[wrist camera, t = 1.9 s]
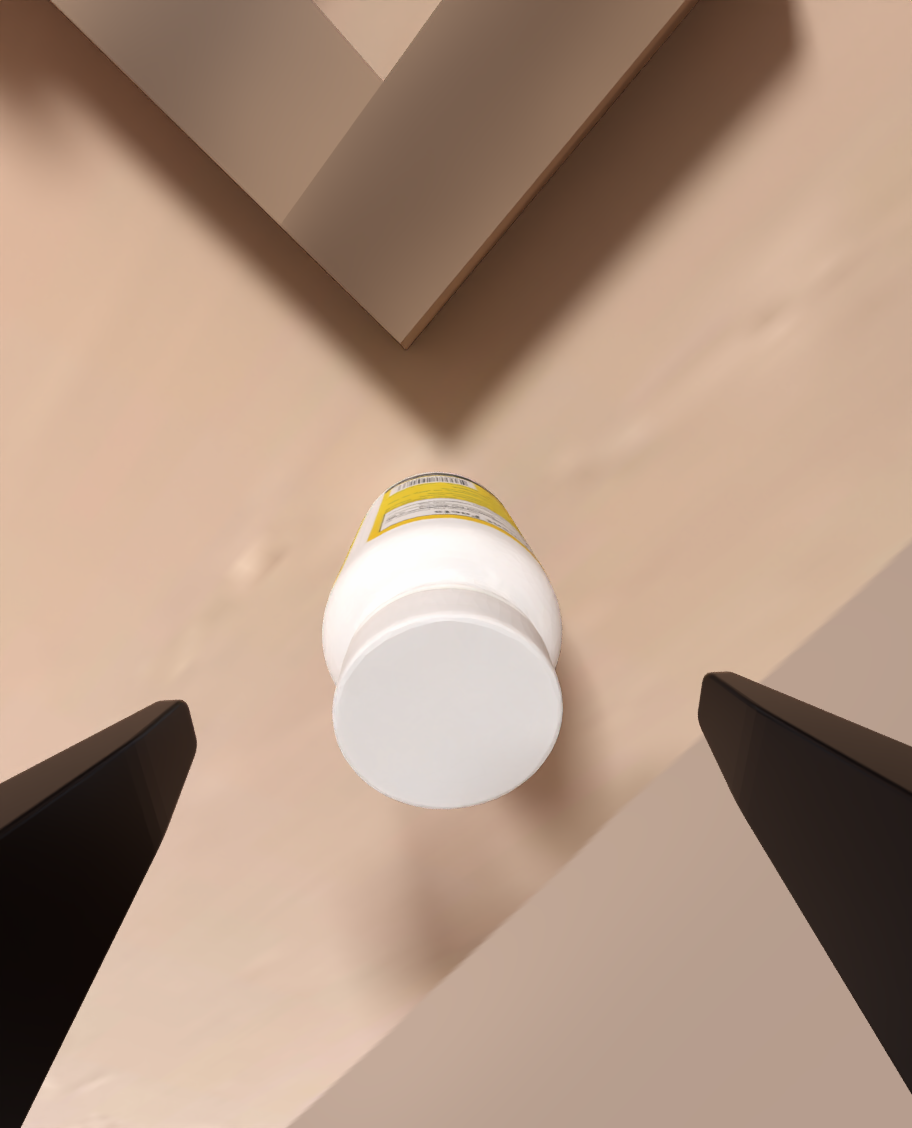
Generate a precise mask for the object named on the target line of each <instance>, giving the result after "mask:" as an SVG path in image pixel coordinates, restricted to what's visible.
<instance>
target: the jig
mask: <svg viewBox="0 0 912 1128" xmlns="http://www.w3.org/2000/svg"><path fill="white" fill-rule="evenodd" d="M50 1H51V2H52V3H53V4H54V5H55V6H56V7H57V8H58V9H59V10H60V11H61V12H62V13H63V14H64V15H65V16H66V17H67V18H68V19H69V20H70V21H71V22H72V23H73V24H74V25H75V26H76V27H77V28H78V29H79V30H80V31H81V32H82V33H83V34H84V35H85V36H86V37H87V38H88V39H89V40H90V41H91V42H92V43H93V44H94V45H95V46H96V47H97V48H98V49H100V50H101V51H102V52H103V53H104V54H105V55H106V56H107V57H108V58H109V59H110V60H111V61H112V62H113V63H114V64H115V65H116V66H117V67H118V68H119V69H120V70H121V71H122V72H123V73H124V74H125V75H126V76H127V77H128V78H129V79H130V80H131V81H132V82H133V83H134V84H135V85H136V86H137V87H138V88H139V89H140V90H141V91H142V92H143V93H144V94H145V95H146V96H147V97H148V98H149V99H151V100H152V101H153V102H154V103H155V104H156V105H157V106H158V107H159V108H160V109H161V110H162V111H163V112H164V113H165V114H166V115H167V116H168V117H169V118H170V119H171V120H172V121H173V122H174V123H175V124H176V125H177V126H178V127H179V128H180V129H181V130H182V131H183V132H184V133H185V134H186V135H187V136H188V137H189V138H190V139H191V140H192V141H193V142H194V143H195V144H196V145H197V146H198V147H199V148H200V149H201V150H203V151H204V152H205V153H206V154H207V155H208V156H209V157H210V158H211V159H212V160H213V161H214V162H215V163H216V164H217V165H218V166H219V167H220V168H221V169H222V170H223V171H224V172H225V173H226V174H227V175H228V176H229V177H230V178H231V179H232V180H233V181H234V182H235V183H236V184H237V185H238V186H239V187H240V188H241V189H242V190H243V191H244V192H245V193H246V194H247V195H248V196H249V197H250V198H251V199H252V200H254V201H255V202H256V203H257V204H258V205H259V206H260V207H261V208H262V209H263V210H264V211H265V212H266V213H267V214H268V215H269V216H270V217H271V218H272V219H273V220H274V221H275V222H276V223H277V224H278V225H279V226H280V227H281V228H282V229H283V230H284V231H285V232H286V233H287V234H288V235H289V236H290V237H291V238H292V239H293V240H294V241H295V242H296V243H297V244H298V245H299V246H300V247H301V248H302V249H303V250H305V251H306V252H307V253H308V254H309V255H310V256H311V257H312V258H313V259H314V260H315V261H316V262H317V263H318V264H319V265H320V266H321V267H322V268H323V269H324V270H325V271H326V272H327V273H328V274H329V275H330V276H331V277H332V278H333V279H334V280H335V281H336V282H337V283H338V284H339V285H340V286H341V287H342V288H343V289H344V290H345V291H346V292H347V293H348V294H349V295H350V296H351V297H352V298H353V299H354V300H355V301H357V302H358V303H359V304H360V305H361V306H362V307H363V308H364V309H365V310H366V311H367V312H368V313H369V314H370V315H371V316H372V317H373V318H374V319H375V320H376V321H377V322H378V323H379V324H380V325H381V326H382V327H383V328H384V329H385V330H386V331H387V332H388V333H389V334H390V335H391V336H392V337H393V338H394V339H395V340H396V341H397V342H398V343H399V344H400V345H401V346H402V347H403V348H404V349H405V350H407V349H408V348H409V347H410V345H411V344H412V343H413V342H414V341H415V339H416V338H417V337H418V336H419V335H420V333H421V332H422V331H423V330H424V329H425V327H426V326H427V325H428V324H429V323H430V321H431V320H432V319H433V318H434V317H435V316H436V314H437V313H438V312H439V311H440V310H441V308H442V307H443V306H444V305H445V304H446V302H447V301H448V300H449V299H450V298H451V296H452V295H453V294H454V293H455V292H456V290H457V289H458V288H459V287H460V286H461V284H462V283H463V282H464V281H465V280H466V278H467V277H468V276H469V275H470V274H471V272H472V271H473V270H474V269H475V268H476V267H477V265H478V264H479V263H480V262H481V261H482V259H483V258H484V257H485V256H486V255H487V253H488V252H489V251H490V250H491V249H492V247H493V246H494V245H495V244H496V243H497V241H498V240H499V239H500V238H501V237H502V235H503V234H504V233H505V232H506V231H507V229H508V228H509V227H510V226H511V225H512V223H513V222H514V221H515V220H516V219H517V218H518V216H519V215H520V214H521V213H522V212H523V210H524V209H525V208H526V207H527V206H528V204H529V203H530V202H531V201H532V200H533V198H534V197H535V196H536V195H537V194H538V192H539V191H540V190H541V189H542V188H543V186H544V185H545V184H546V183H547V182H548V180H549V179H550V178H551V177H552V176H553V175H554V173H555V172H556V171H557V170H558V169H559V167H560V166H561V165H562V164H563V163H564V161H565V160H566V159H567V158H568V157H569V155H570V154H571V153H572V152H573V151H574V149H575V148H576V147H577V146H578V145H579V143H580V142H581V141H582V140H583V139H584V137H585V136H586V135H587V134H588V133H589V131H590V130H591V129H592V128H593V127H594V126H595V124H596V123H597V122H598V121H599V120H600V118H601V117H602V116H603V115H604V114H605V112H606V111H607V110H608V109H609V108H610V106H611V105H612V104H613V103H614V102H615V100H616V99H617V98H618V97H619V96H620V94H621V93H622V92H623V91H624V90H625V88H626V87H627V86H628V85H629V84H630V82H631V81H632V80H633V79H634V78H635V77H636V75H637V74H638V73H639V72H640V71H641V69H642V68H643V67H644V66H645V65H646V63H647V62H648V61H649V60H650V59H651V57H652V56H653V55H654V54H655V53H656V51H657V50H658V49H659V48H660V47H661V45H662V44H663V43H664V42H665V41H666V39H667V38H668V37H669V36H670V35H671V34H672V32H673V31H674V30H675V29H676V28H677V26H678V25H679V24H680V23H681V22H682V20H683V19H684V18H685V17H686V16H687V14H688V13H689V12H690V11H691V10H692V8H693V7H694V6H695V5H696V4H697V2H698V1H699V0H442V1H441V2H440V4H439V5H438V6H437V8H436V9H435V11H434V12H433V13H432V15H431V16H430V17H429V19H428V20H427V22H426V23H425V24H424V26H423V27H422V29H421V30H420V31H419V33H418V34H417V36H416V37H415V38H414V40H413V41H412V42H411V44H410V45H409V47H408V48H407V49H406V51H405V52H404V54H403V55H402V56H401V58H400V59H399V61H398V62H397V63H396V65H395V66H394V67H393V69H392V70H391V72H390V73H389V74H388V76H387V77H386V79H385V80H384V81H382V80H381V78H380V77H379V76H378V75H377V74H376V73H375V72H374V70H373V69H372V68H371V67H370V66H369V65H368V64H367V62H366V61H365V60H364V59H363V58H362V57H361V56H360V54H359V53H358V52H357V51H356V50H355V49H354V48H353V46H352V45H351V44H350V43H349V42H348V41H347V40H346V38H345V37H344V36H343V35H342V34H341V33H340V32H339V30H338V29H337V28H336V27H335V26H334V25H333V24H332V22H331V21H330V20H329V19H328V18H327V17H326V16H325V14H324V13H323V12H322V11H321V10H320V9H319V8H318V6H317V5H316V4H315V3H314V2H313V1H312V0H50Z"/></svg>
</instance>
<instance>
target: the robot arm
mask: <svg viewBox="0 0 912 1128" xmlns="http://www.w3.org/2000/svg"><path fill="white" fill-rule="evenodd" d="M698 720H699V724H700V727H701V729H702V732H703V734H704V736H705V738H706V740H707V742H708V744H709V746H710V748H711V751H712V753H713V755H714V757H715V759H716V761H717V763H718V765H719V767H720V769H721V772H722V774H723V776H724V778H725V780H726V782H727V784H728V787H729V789H730V791H731V793H732V795H733V797H734V799H735V801H736V803H737V804H738V806H739V808H740V810H741V812H742V813H743V815H744V817H745V819H746V820H747V822H748V824H749V825H750V827H751V829H752V830H753V832H754V834H755V835H756V837H757V838H758V840H759V842H760V844H761V845H762V847H763V848H764V850H765V852H766V853H767V855H768V857H769V858H770V860H771V862H772V863H773V865H774V867H775V868H776V870H777V872H778V873H779V875H780V877H781V878H782V880H783V882H784V883H785V885H786V887H787V888H788V890H789V892H790V893H791V895H792V897H793V898H794V900H795V901H796V903H797V905H798V906H799V908H800V910H801V911H802V913H803V915H804V916H805V918H806V920H807V921H808V923H809V925H810V926H811V928H812V930H813V931H814V933H815V935H816V936H817V938H818V940H819V941H820V943H821V945H822V946H823V948H824V950H825V951H826V953H827V955H828V956H829V958H830V960H831V961H832V963H833V965H834V966H835V968H836V970H837V971H838V973H839V974H840V976H841V978H842V980H843V981H844V983H845V984H846V986H847V988H848V989H849V991H850V993H851V994H852V996H853V998H854V999H855V1001H856V1003H857V1004H858V1006H859V1008H860V1009H861V1011H862V1013H863V1014H864V1016H865V1018H866V1019H867V1021H868V1023H869V1024H870V1026H871V1027H872V1029H873V1031H874V1032H875V1034H876V1036H877V1037H878V1039H879V1041H880V1043H881V1044H882V1046H883V1047H884V1049H885V1051H886V1052H887V1054H888V1056H889V1057H890V1059H891V1061H892V1062H893V1064H894V1066H895V1067H896V1069H897V1071H898V1072H899V1074H900V1075H901V1077H902V1079H903V1081H904V1082H905V1084H906V1086H907V1087H908V1089H909V1090H910V1092H911V1094H912V747H911V746H908V745H906V744H904V743H902V742H899V741H897V740H894V739H892V738H889V737H887V736H885V735H882V734H880V733H877V732H875V731H872V730H870V729H868V728H865V727H863V726H860V725H858V724H856V723H853V722H851V721H848V720H846V719H844V718H841V717H839V716H836V715H834V714H832V713H829V712H827V711H824V710H822V709H819V708H817V707H815V706H812V705H810V704H807V703H805V702H802V701H800V700H798V699H795V698H793V697H791V696H788V695H786V694H783V693H781V692H778V691H776V690H774V689H771V688H769V687H766V686H764V685H762V684H759V683H757V682H754V681H752V680H750V679H747V678H745V677H742V676H740V675H737V674H735V673H732V672H711V673H707V674H706V675H705V676H704V678H703V681H702V688H701V694H700V701H699V708H698ZM196 748H197V740H196V735H195V731H194V727H193V723H192V719H191V715H190V711H189V707H188V705H187V703H186V702H184V701H183V700H164V701H158V702H156V703H154V704H152V705H150V706H148V707H146V708H144V709H142V710H140V711H138V712H136V713H135V714H133V715H131V716H129V717H127V718H125V719H123V720H121V721H119V722H117V723H115V724H113V725H112V726H110V727H108V728H106V729H104V730H102V731H100V732H98V733H96V734H94V735H92V736H91V737H89V738H87V739H85V740H83V741H81V742H79V743H77V744H75V745H73V746H71V747H69V748H68V749H66V750H64V751H62V752H60V753H58V754H56V755H54V756H52V757H50V758H48V759H47V760H45V761H43V762H41V763H39V764H37V765H35V766H33V767H31V768H29V769H27V770H25V771H24V772H22V773H20V774H18V775H16V776H14V777H12V778H10V779H8V780H6V781H4V782H3V783H1V784H0V1128H21V1126H22V1124H23V1122H24V1120H25V1118H26V1116H27V1114H28V1112H29V1110H30V1108H31V1106H32V1104H33V1102H34V1100H35V1098H36V1096H37V1094H38V1092H39V1090H40V1088H41V1086H42V1084H43V1082H44V1080H45V1077H46V1075H47V1073H48V1071H49V1069H50V1067H51V1065H52V1063H53V1061H54V1059H55V1057H56V1055H57V1053H58V1051H59V1049H60V1047H61V1045H62V1043H63V1041H64V1039H65V1037H66V1035H67V1033H68V1031H69V1029H70V1027H71V1025H72V1023H73V1021H74V1019H75V1017H76V1015H77V1013H78V1011H79V1009H80V1007H81V1005H82V1003H83V1001H84V999H85V997H86V995H87V993H88V991H89V988H90V986H91V984H92V982H93V980H94V978H95V976H96V974H97V972H98V970H99V968H100V966H101V964H102V962H103V960H104V958H105V956H106V954H107V952H108V950H109V948H110V946H111V944H112V942H113V940H114V938H115V936H116V934H117V932H118V930H119V928H120V926H121V924H122V922H123V920H124V918H125V916H126V914H127V912H128V910H129V908H130V906H131V904H132V902H133V899H134V897H135V895H136V893H137V891H138V889H139V887H140V885H141V883H142V881H143V879H144V877H145V875H146V873H147V871H148V869H149V867H150V865H151V863H152V861H153V859H154V857H155V855H156V853H157V851H158V849H159V847H160V844H161V842H162V840H163V838H164V835H165V833H166V831H167V828H168V826H169V823H170V820H171V818H172V815H173V812H174V810H175V807H176V804H177V802H178V799H179V796H180V794H181V791H182V788H183V786H184V783H185V780H186V778H187V775H188V772H189V770H190V767H191V764H192V762H193V759H194V756H195V753H196Z"/></svg>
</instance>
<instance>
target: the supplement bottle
mask: <svg viewBox="0 0 912 1128" xmlns="http://www.w3.org/2000/svg"><path fill="white" fill-rule="evenodd" d="M322 644H323V652H324V657H325V661H326V664H327V667H328V670H329V673H330V675H331V677H332V679H333V681H334V684H335V685H336V690H335V694H334V699H333V710H332V716H333V726H334V732H335V736H336V740H337V743H338V745H339V748H340V750H341V752H342V754H343V756H344V758H345V759H346V761H347V762H348V763H349V765H350V766H351V767H352V769H353V770H354V771H355V772H356V773H357V775H358V776H359V777H360V778H361V779H362V780H363V781H365V782H366V783H367V784H368V785H369V786H371V787H372V788H374V789H375V790H377V791H378V792H380V793H382V794H384V795H385V796H387V797H390V798H392V799H394V800H397V801H400V802H402V803H405V804H408V805H412V806H416V807H422V808H429V809H458V808H465V807H471V806H475V805H479V804H483V803H486V802H489V801H491V800H494V799H497V798H499V797H501V796H503V795H505V794H507V793H509V792H511V791H512V790H514V789H515V788H517V787H518V786H520V785H521V784H523V783H524V782H525V781H526V780H528V779H529V778H530V777H531V776H532V775H533V774H534V773H535V772H536V771H537V770H538V769H539V768H540V767H541V765H542V764H543V763H544V761H545V760H546V759H547V757H548V756H549V754H550V753H551V751H552V749H553V747H554V745H555V743H556V740H557V738H558V735H559V731H560V727H561V723H562V714H563V699H562V692H561V687H560V684H559V680H558V677H557V674H556V671H555V668H556V665H557V663H558V659H559V655H560V651H561V644H562V620H561V613H560V608H559V604H558V600H557V597H556V594H555V592H554V590H553V587H552V585H551V583H550V581H549V579H548V577H547V575H546V573H545V571H544V569H543V568H542V566H541V564H540V563H539V561H538V560H537V558H536V557H535V555H534V553H533V552H532V550H531V549H530V547H529V545H528V544H527V542H526V540H525V539H524V537H523V536H522V534H521V533H520V531H519V529H518V528H517V526H516V525H515V523H514V521H513V520H512V518H511V517H510V515H509V514H508V512H507V511H506V509H505V508H504V506H503V505H502V503H501V502H500V501H499V500H498V499H497V498H496V497H495V496H494V495H493V494H492V493H491V492H490V491H488V490H487V489H486V488H484V487H483V486H482V485H480V484H479V483H477V482H475V481H473V480H471V479H469V478H467V477H464V476H461V475H457V474H453V473H446V472H428V473H421V474H417V475H413V476H410V477H407V478H405V479H403V480H401V481H399V482H397V483H395V484H394V485H392V486H391V487H390V488H388V489H387V490H386V491H384V492H383V493H382V494H381V495H380V496H379V497H378V498H377V499H376V501H375V502H374V503H373V504H372V506H371V507H370V509H369V511H368V512H367V514H366V516H365V517H364V519H363V521H362V523H361V525H360V528H359V530H358V532H357V534H356V536H355V539H354V541H353V543H352V545H351V547H350V550H349V552H348V555H347V557H346V559H345V561H344V564H343V566H342V568H341V570H340V572H339V574H338V576H337V578H336V581H335V583H334V585H333V587H332V590H331V593H330V595H329V598H328V602H327V605H326V608H325V613H324V618H323V626H322Z"/></svg>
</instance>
